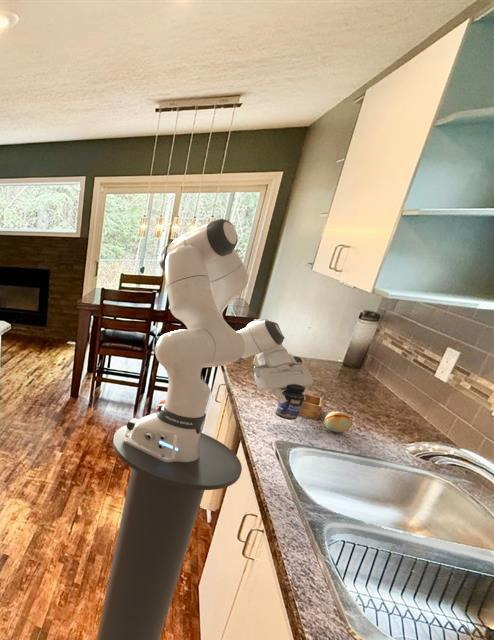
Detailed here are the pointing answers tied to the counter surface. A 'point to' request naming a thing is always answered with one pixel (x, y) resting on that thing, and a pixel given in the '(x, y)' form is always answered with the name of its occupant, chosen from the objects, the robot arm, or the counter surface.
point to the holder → (311, 407)
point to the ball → (338, 422)
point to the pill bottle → (291, 402)
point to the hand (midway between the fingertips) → (293, 401)
